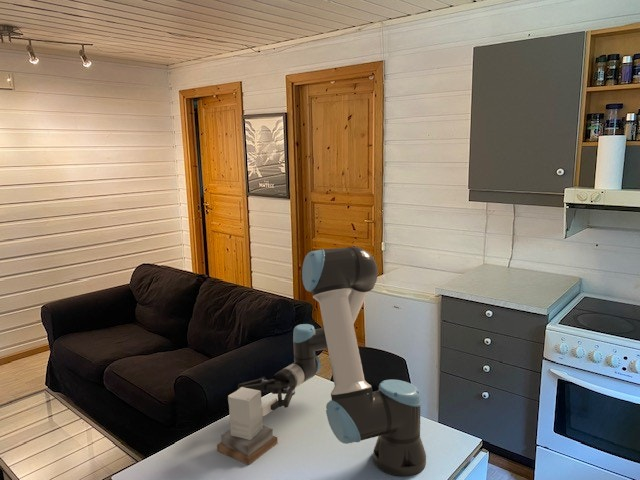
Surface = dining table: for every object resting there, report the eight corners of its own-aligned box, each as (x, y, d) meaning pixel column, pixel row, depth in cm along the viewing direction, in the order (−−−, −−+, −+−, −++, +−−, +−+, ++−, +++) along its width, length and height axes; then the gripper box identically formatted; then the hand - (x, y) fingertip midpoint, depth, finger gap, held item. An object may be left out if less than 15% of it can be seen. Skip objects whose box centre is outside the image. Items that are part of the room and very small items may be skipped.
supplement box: (263, 428, 150) (261, 390, 148) (250, 441, 144) (248, 401, 142) (243, 423, 153) (241, 386, 151) (229, 435, 147) (227, 396, 145)
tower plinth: (277, 443, 151) (277, 428, 150) (249, 465, 140) (248, 449, 140) (246, 430, 158) (246, 416, 157) (217, 450, 148) (216, 435, 147)
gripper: (318, 398, 158) (277, 429, 141) (260, 380, 172) (216, 406, 155) (318, 377, 157) (276, 405, 140) (259, 360, 171) (215, 384, 154)
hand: (245, 405), depth 147 cm, fingers open, 13 cm apart
